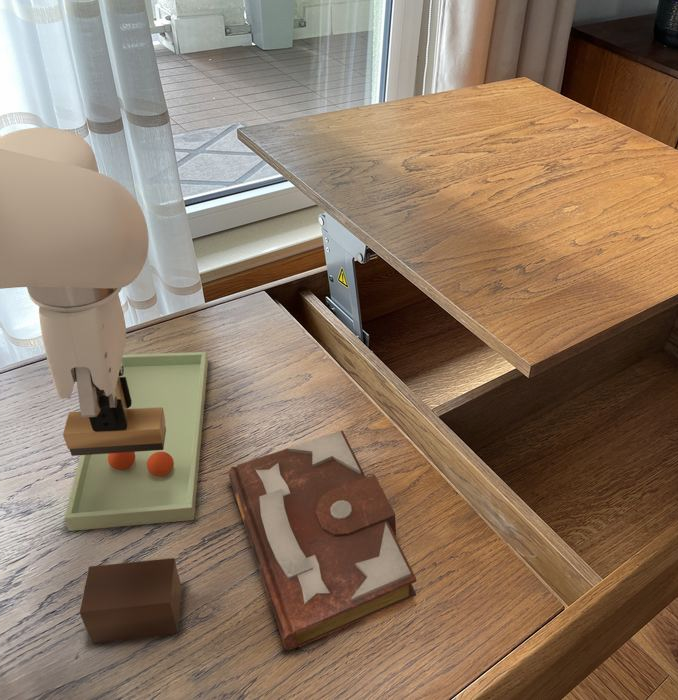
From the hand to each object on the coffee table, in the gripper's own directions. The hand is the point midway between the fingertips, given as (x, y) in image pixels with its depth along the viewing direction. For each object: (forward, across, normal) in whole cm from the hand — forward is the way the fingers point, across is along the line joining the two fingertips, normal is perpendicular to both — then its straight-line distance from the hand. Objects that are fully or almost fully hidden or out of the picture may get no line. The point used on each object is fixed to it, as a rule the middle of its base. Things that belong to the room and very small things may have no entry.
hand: (113, 416), depth 74 cm
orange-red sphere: (+13, -4, +2) cm, 13 cm away
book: (+15, +8, +21) cm, 27 cm away
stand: (+15, +15, +2) cm, 21 cm away
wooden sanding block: (+4, 0, 0) cm, 4 cm away
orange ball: (+13, -5, -2) cm, 14 cm away
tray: (+15, -10, 0) cm, 18 cm away
